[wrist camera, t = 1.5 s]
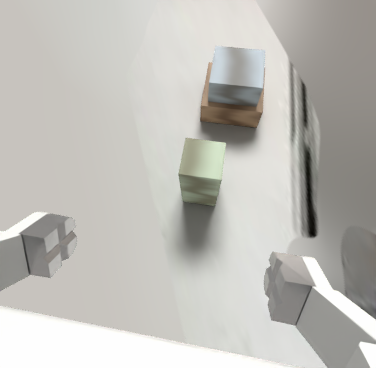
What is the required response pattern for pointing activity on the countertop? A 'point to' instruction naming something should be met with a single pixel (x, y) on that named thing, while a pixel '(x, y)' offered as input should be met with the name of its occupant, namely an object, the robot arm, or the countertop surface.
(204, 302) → the countertop surface
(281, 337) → the countertop surface
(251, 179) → the countertop surface
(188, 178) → the green brick
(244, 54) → the pedestal
